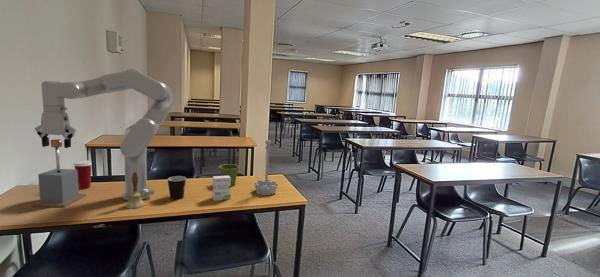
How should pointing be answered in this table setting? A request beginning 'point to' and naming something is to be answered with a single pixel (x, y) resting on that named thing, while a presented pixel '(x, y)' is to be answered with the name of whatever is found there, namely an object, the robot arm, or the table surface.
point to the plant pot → (229, 171)
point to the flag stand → (266, 178)
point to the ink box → (221, 187)
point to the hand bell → (135, 195)
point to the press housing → (58, 188)
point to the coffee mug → (176, 187)
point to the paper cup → (83, 174)
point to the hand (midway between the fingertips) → (56, 146)
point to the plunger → (57, 151)
